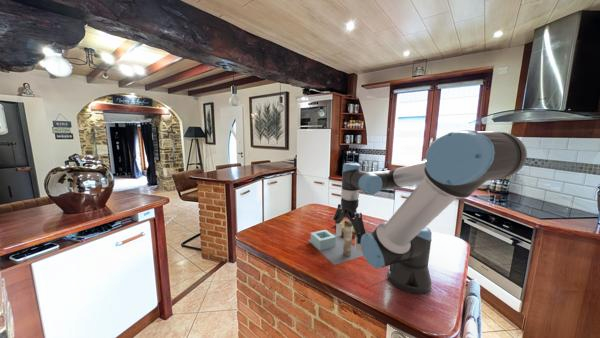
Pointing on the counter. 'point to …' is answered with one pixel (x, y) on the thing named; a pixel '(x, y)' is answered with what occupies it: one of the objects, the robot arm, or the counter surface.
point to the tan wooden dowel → (347, 238)
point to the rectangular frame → (323, 239)
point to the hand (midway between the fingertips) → (347, 242)
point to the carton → (343, 229)
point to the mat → (339, 252)
